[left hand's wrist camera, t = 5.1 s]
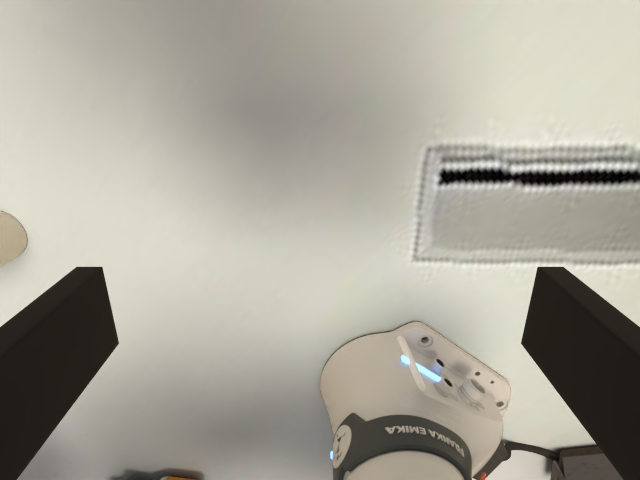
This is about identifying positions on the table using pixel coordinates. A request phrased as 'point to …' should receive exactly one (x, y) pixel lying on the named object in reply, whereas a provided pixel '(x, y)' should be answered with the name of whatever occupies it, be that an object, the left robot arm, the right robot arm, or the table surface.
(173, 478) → the spray gun
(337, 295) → the table surface
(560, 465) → the toy
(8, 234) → the bottle
